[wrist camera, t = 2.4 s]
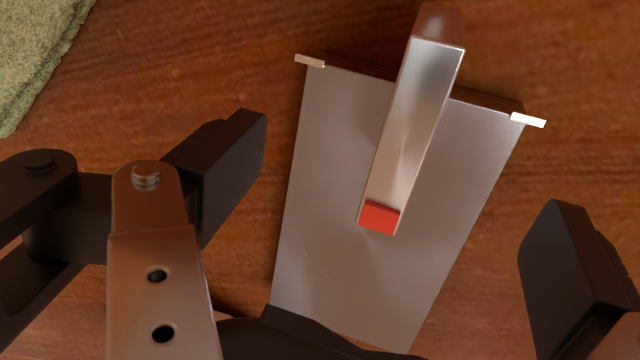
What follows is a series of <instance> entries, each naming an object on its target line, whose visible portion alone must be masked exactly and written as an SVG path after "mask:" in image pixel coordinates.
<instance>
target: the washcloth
mask: <svg viewBox="0 0 640 360" xmlns="http://www.w3.org/2000/svg"><path fill="white" fill-rule="evenodd" d="M96 1H97V0H0V138H6V137H7V136H9V135H10V134H12V133H13V134H14V133H15V130H16V127H17V126H18V125H19V123H20V122H21V121H22V118H23V115H25V114H26V113H27V112H28V111H29V108H30V107H31V106H32V104H33V103H34V100H35V97H36V95H37V94H38V93H40V91H41V90H42V89H43V87H44V86H45V85H46V83H47V81H49V79H50V76H51V74H52V73H53V71H54V69H55V68H56V66H57V65H58V64H59V63H60V62H61V56H62V55H64V54H65V52H67V51H68V49H69V48H70V47H71V45H72V44H73V42H72V39H73V38H74V37H75V36H76V35H77V31H78V29H79V27H80V24H83V23H84V22H85V19H86V18H87V15H88V12H89V11H90V8H91V7H92V6H93V5H94V4H95V2H96Z"/></svg>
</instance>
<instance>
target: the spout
mask: <svg viewBox="0 0 640 360" xmlns="http://www.w3.org/2000/svg"><path fill="white" fill-rule="evenodd" d="M466 51H467V50H466V41H465V33H464V26H463V18H462V11H460V10H457V9H453V8H449V7H445V6H441V5H437V4H432V3H428V2H422V4H421V6H420V9H419V12H418V15H417V17H416V20H415V23H414V25H413V28H412V31H411V34H410V36H409V40H408V43H407V46H406V50H405V53H404V56H403V60H402V63H401V67H400V70H399V73H398V77H397V80H396V83H395V87H394V90H393V94H392V97H391V100H390V104H389V107H388V110H387V114H386V117H385V121H384V124H383V127H382V131H381V134H380V137H379V141H378V144H377V148H376V151H375V154H374V158H373V161H372V164H371V168H370V171H369V175H368V178H367V181H366V185H365V188H364V191H363V195H362V198H361V201H360V205H359V208H358V212H357V215H356V218H355V223H356V224H358V225H359V226H362V227H365V228H369V229H372V230H375V231H378V232H381V233H384V234H388V235H391V236H392V235H393V236H395V235H396V234H397V232H398V229H399V226H400V224H401V221H402V219H403V216H404V213H405V211H406V208H407V205H408V203H409V200H410V198H411V195H412V192H413V190H414V187H415V185H416V182H417V179H418V177H419V174H420V171H421V169H422V166H423V164H424V161H425V158H426V156H427V153H428V151H429V148H430V145H431V143H432V140H433V137H434V135H435V132H436V130H437V127H438V124H439V122H440V119H441V117H442V114H443V111H444V109H445V106H446V103H447V101H448V98H449V96H450V93H451V90H452V88H453V85H454V83H455V80H456V77H457V75H458V72H459V69H460V67H461V64H462V62H463V59H464V56H465V54H466Z"/></svg>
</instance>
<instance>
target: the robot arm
mask: <svg viewBox="0 0 640 360" xmlns="http://www.w3.org/2000/svg"><path fill="white" fill-rule="evenodd" d="M266 130H267V116H266V114H262V113H259V112H255V111H252V110H248V109H245V108H240V109H238V110H237V111H236V112H235V113H234V114H233V115H231V116H230V117H229V118H228V119H227V120H223V119H217V120H214V121H211V122H208V123H205V124H203V125H202V126H201V127H200V128H198V129H197V130H196V131H195V132H194V134H193V133H192V134H191V135H190V136H188V137H187V138H186V140H183V141H182V142H181V143H180V144H178V145H177V146H176V147H175V148H173V149H172V150H171V151H170V152H168V153H167V154H166V155H165V156H164V157H162V158H161V159H160V160H159V161H158V160H137V161H133V162H129V163H127V164H124V165H122V166H120V167H119V168H118V169H116V170H115V172H114V173H113V175H105V174H95V173H84V172H78V167H77V161H76V159H75V157H74V156H73V155H72V154H70V153H68V152H66V151H63V150H58V149H48V148H44V149H33V150H28V151H24V152H21V153H18V154H15V155H13V156H11V157H9V158H8V159H6V160H4V161H2V162H1V163H0V250H1V249H2V248H4V247H5V246H6V245H7V244H9V243H10V242H11V241H13V240H14V239H15V238H16V237H18V236H19V235H20V234H21V235H22V238H23V242H22V243H21V244H20V245H18V246H17V247H16V248H15V249H13V250H12V251H11V252H10V253H9V254H7V255H6V256H5V257H4V258H2V259H1V260H0V354H1V353H2V352H3V351H4V350H5V349H6V348H7V347H8V346H9V345H10V344H11V343H12V342H13V340H14V339H15V338H16V337H17V336H18V335H19V334H20V333H21V332H22V331H23V330H24V329H25V328H26V327H27V326H28V325H29V324H30V323H31V322H32V321H33V320H34V319H35V318H36V317H37V316H38V315H39V314H40V313H41V312H42V310H43V309H44V308H45V307H46V306H47V305H48V304H49V303H50V302H51V301H52V300H53V299H54V298H55V297H56V296H57V295H58V294H59V293H60V292H61V291H62V290H63V289H64V288H65V287H66V286H67V285H68V284H69V283H70V282H71V281H72V279H73V278H74V277H75V276H76V275H77V274H78V273H79V272H80V271H81V270H82V269H83V268H84V267H85V266H86V265H87V264H97V265H107V283H106V347H105V360H428V359H425V358H422V357H419V356H415V355H406V354H397V353H388V352H379V351H370V350H364V349H361V348H359V347H357V346H356V345H354V344H352V343H351V342H349V341H348V340H346V339H344V338H343V337H341V336H339V335H338V334H336V333H335V332H333V331H331V330H330V329H328V328H327V327H325V326H323V325H322V324H320V323H319V322H317V321H315V320H313V319H310V318H308V317H305V316H302V315H299V314H296V313H293V312H290V311H288V310H285V309H282V308H279V307H276V306H273V305H270V304H266V306H265V308H264V310H263V312H262V314H261V316H260V318H256V317H237V318H228V319H223V320H219V321H215V318H214V313H213V309H212V304H211V299H210V295H209V290H208V286H207V281H206V277H205V272H204V267H203V263H202V258H201V254H200V250H203V249H204V248H205V246H206V245H207V244H208V242H209V241H210V240H211V238H212V237H213V236H214V235H215V233H216V232H217V231H218V229H219V228H220V227H221V225H222V224H223V223H224V221H225V220H226V219H227V217H228V216H229V215H230V214H231V212H232V211H233V210H234V208H235V207H236V206H237V204H238V203H239V202H240V200H241V199H242V198H243V197H244V195H245V194H246V193H247V191H248V190H249V189H250V187H251V186H252V185H253V183H254V182H255V181H256V179H257V177H258V175H259V173H260V170H261V167H262V162H263V155H264V146H265V138H266ZM517 262H518V267H519V272H520V277H521V282H522V287H523V292H524V297H525V301H526V306H527V311H528V316H529V321H530V326H531V331H532V336H533V340H534V345H535V350H536V355H537V360H640V296H639V294H638V292H637V290H636V288H635V286H634V284H633V282H632V280H631V278H630V277H628V272H627V271H626V269H625V267H624V265H622V264H621V263H622V261H621V259H620V257H619V255H618V253H617V251H616V249H615V247H614V246H613V245H612V244H611V243H610V242H609V241H608V240H607V239H606V238H605V237H604V236H603V235H602V234H601V233H600V232H599V231H597V230H595V228H594V226H593V224H592V222H591V220H590V218H589V216H588V214H587V212H586V210H585V208H583V207H581V206H577V205H574V204H570V203H567V202H563V201H560V200H556V199H551V200H549V201H548V202H547V203H546V204H545V206H544V207H543V209H542V210H541V212H540V214H539V215H538V217H537V218H536V220H535V222H534V223H533V225H532V226H531V228H530V230H529V231H528V233H527V235H526V236H525V238H524V239H523V241H522V243H521V245H520V248H519V252H518V258H517Z"/></svg>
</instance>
